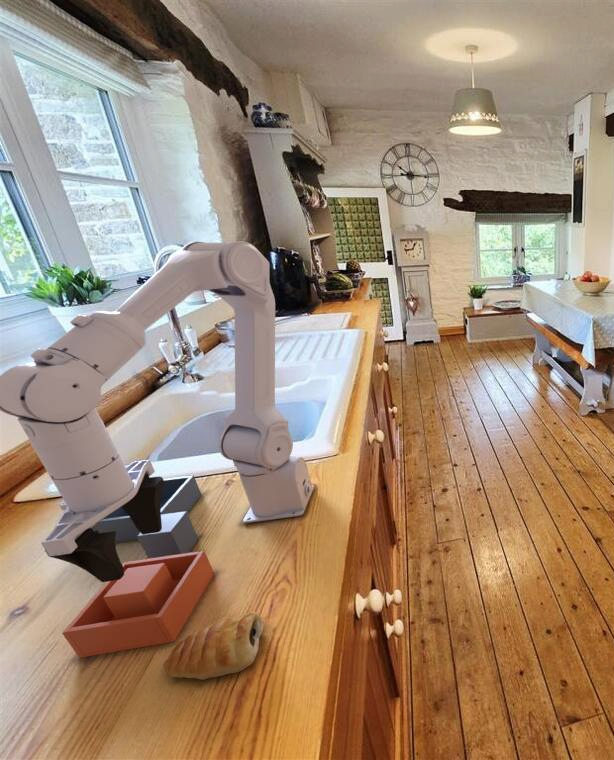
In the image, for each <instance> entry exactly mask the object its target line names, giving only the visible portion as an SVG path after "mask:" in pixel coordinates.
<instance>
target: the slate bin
mask: <svg viewBox="0 0 614 760" xmlns="http://www.w3.org/2000/svg"><path fill="white" fill-rule="evenodd" d="M163 480H164V482H165V483H164V486H163V489H162V493H161V501H160V510H161V515H162V514H169V513H177V512H185V511H187V513H188V514H189V512H190V510H191V509H192V508H193V507H194V505H196V503H197V502H198V500H199V499H200V498H201V497H202V496H203V494H202V492H201V490H200V487H199V485H198V482H197V480H196V476H195V475H185V476H177V477H170V478H168V477H167V478H163ZM92 529H93V531H96V530H98V532H99V533H105V532H112V531H116V537H115V544H116V543H122V542H130V541H139V539H138V537H137V536H138V534H139V533H140V531H139V530H138V529H137V528H136V526H135V525H134V523H133V521H132V520H131V518H130V517H129V515H128V514H127V513H126V512H125V510H124V509H123V508H122V507H119V508H118V509H116V510H115V511H113V512H112V513H110V514H109V515H107V516H106V517H104V518H103V519H101V520H100V521H98V522H97V523H96V524H95V525H94V526H93V527H92Z"/></svg>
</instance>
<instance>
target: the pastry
mask: <svg viewBox="0 0 614 760" xmlns="http://www.w3.org/2000/svg"><path fill="white" fill-rule="evenodd" d="M264 627H265V623H264V619H263V617H262V616H261V614H260V613H259V612H257V611H254V610H251V611H249V612H244V613H236V614H233V615H231V616H227V617H221V618H219V619H217V620H216V621H214V622H212V623H211V624H210V625H208V626H206V627H204V628H202V629H199V630H197V631H195V632H194V633H192V634H189V635H188V636H187V637H185V638H184V639H182V640H180V641H179V642H178V643H177V644H176V645H175V647H174V648H173V649H172V650H171V652H170V654H169V655H168V657H167V659H166V660H165V661H164V662H163V664H162V668H163V670H164V671H165V672H166V673H167V675H168V676H169V677H171V678H186V679H198V680H200V681H201V680H202V681H203V680H204V681H205V680H207V679H211V678H217V677H224V676H225V675H228V674H235V673H239V672H241V671H243V670H244V669H247V668H248V667H250V666H251V665H252V664H254V661H255V659H256V657H257V654H258V651H259V646H260V645H259V644H260V637H261V635H262V633H263V630H264Z"/></svg>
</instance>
